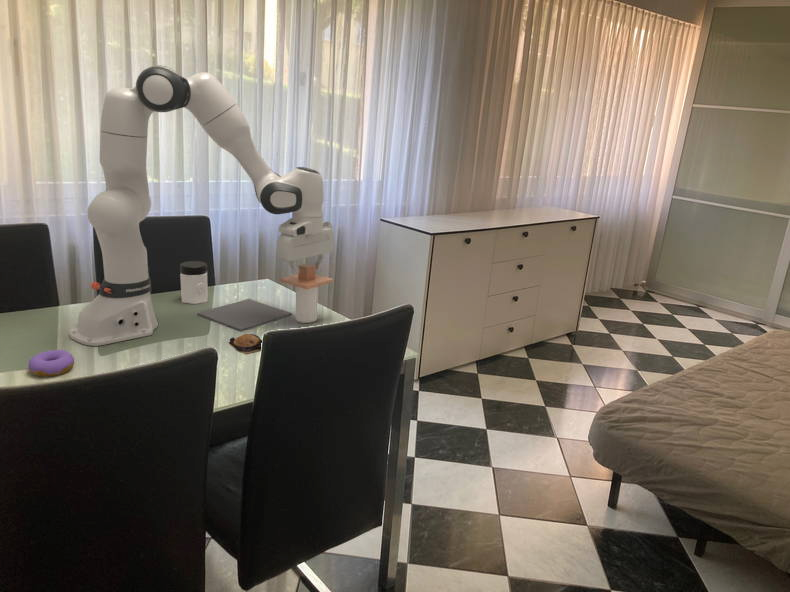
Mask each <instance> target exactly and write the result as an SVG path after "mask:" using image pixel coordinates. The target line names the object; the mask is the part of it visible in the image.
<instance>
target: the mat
mask: <svg viewBox="0 0 790 592" xmlns="http://www.w3.org/2000/svg"><path fill="white" fill-rule="evenodd" d="M196 314H197V316H200V317H202V318H205V319H207V320H209V321H213V322H215V323H218V324H220V325H222V326H225V327H228V328H230V329H233V330H236V331H238V332H244V331H248V330H250V329H254V328H256V327H261V326H263V325H265V324H270V323H272V322H276V321H278V320H283V319H284V318H288V317H290V316H293V313H292V312H289V311H287V310H284V309H281V308H278V307H275V306H272V305H269V304H266V303H264V302H261V301H257V300H255V299H252V298H251V299H250V298H247V299H243V300H239V301H237V302H233V303H228V304H225V305H222V306H217V307H213V308H211V309H206V310H203V311H200V312H197V313H196Z"/></svg>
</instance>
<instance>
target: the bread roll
mask: <svg viewBox="0 0 790 592" xmlns="http://www.w3.org/2000/svg"><path fill="white" fill-rule="evenodd" d="M261 343H262V338H261V337H260V336H259V335H256V334H253V333H245V334H241V335H239V336H237V337H236V338H235V337H233V336H231V337H230V338H229V341H228V344H229V345H230V346H231V347H232V348H234V349H235V350H236V351H238V352H240V353H243V354H244V355H250V354H254V353H258V352H262V351H261Z"/></svg>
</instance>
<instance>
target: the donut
mask: <svg viewBox="0 0 790 592" xmlns="http://www.w3.org/2000/svg"><path fill="white" fill-rule="evenodd" d="M74 364H75V358H74V356H73V354H71V353H70V352H69V351H67V350H63V349H53V350H47V351H46V350H45V351H42V352H40V353H39V352H38V353H37V354H35V355H33V357H31V358H30V359H29V361H28V365H27V366H28V369H29V371H30V372H31V373H32V374H33V375H35V376H38V377H56V376H59V375H62V374H65V373H67V372H69V371H70V370H71V369H72V368H73V367H74Z"/></svg>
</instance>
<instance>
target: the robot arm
mask: <svg viewBox="0 0 790 592" xmlns="http://www.w3.org/2000/svg"><path fill="white" fill-rule="evenodd" d="M183 108H184V109H186V110H188V111H189V112H190V113H191V114H192V115H193V116H194V118H195V119H196V120H197V122H198V123H199V125H200V126H201V128H202V129H203V130H204V131H205V133H206V134H207V135H208V136H209V138H211V139H212V141H214V142H215V144H216V145H218V147H220V148H221V149H223V150H225V151H227V152H228V153H229V154H230V155H232V156H233V157H234V158H235V159H236V160H237V161H238V163H239V164H240V166H241V167H242V169H243V170H244V172H245V173H246V174H247V176H248V177H249V178H250V180H251V182H252V184H253V189H254V192H255V196H256V198H257V200H258V202H259V203H260V204H261V206H262V207H263V209H264V210H265V211H266V212H268V213H270V214H272V215H285V214H289V213H291V218H288V219H287V220H285V222H283V223H282V224H280V225H278V230H277V231H278V233H280V234H279V236H278V238H277V250H276V251H277V258H278V259H279V260H280V261H283V262H285V263H286V262H287V263H288V265H289V267H290V269H291V274H292V275H296V274H299V268H298V267H297V265H296V264H297V263H298V260H301V259H306V258H311V257H315V256H316V257H317V259H316V261H315V262H314V263H313V265H315V270H319V269H322V268H323V262H324V260H325V258H326V254H329V253H332V252H333V251H334V249H335V237H334V236H335V235H334V231H333V225H332V224H331V222H329V221H325V222H324V212H323V203H324V193H325V192H324V180H323V179H324V178H323V176H322V174H321V173H320V172H319V171H318V170H316V169H312V168H309V167H304V166H303V167H302V166H298V167H295V168H294V169H293V170H291V171H290V172H287V173H286V174H284V175H279V174H278V173H276V171H275V172H274V171H273V170H272V169H271V167H270V166H269V165H268V163H267V162H266V161H265V159H264V158H263V156H262V154H260V152H259V151H258V149H257V147H256V145H255V144H254V141H253V138H252V134H251V129H250V128H251V127H250V126H249V125H250V124H249V123H248V121H247V119H246V116H245V114H244V112H243V111H242V109H241V107H240V106H239V105H238V103H237V101H236V100H235V99H234V97H233V96H232V95H231V93H230V92H229V91H228V90H227V88H226V87H225V86H224V85H223V84H222V83H221V82H220V81H219V80H218V79H217V78H216V77H215V76H214V75H213V74H211V73H210V72H205V71H204V72H202V71H201V72H197V73H195V74H193V75H190V76H189V77H183V76H182V75H180V74H178V73H177V71H175V70H174V69H172V68H171V67H168V66H166V65H162V64H161V65H158V64H157V65H153V66H149V67H147V68H145V69H144V70H142V71H141V72H140V73H139V75H138V77H137V79H136V82H135V86H134V87H116V88H112V89H111V90H109V91H108V92H106V94H105V96H104V101H103V104H102V109H101V118H100V128H99V129H100V131H99V164H100V165H101V167H102V170H103V171H102V172H103V174H104V181H105V190H104V191H102V192H100V193H98V194H96V196H95V197H94V198H93V199H92V200H91V202H90V203H89V205H88V208H87V211H86V212H87V213H86V214H87V219H88V221H89V224H90V225H91V226H92V227H93V228H94V230H95V234H96V236H97V240H98V243H99V246H100V250H101V254H102V263H103V264H102V265H103V266H102V267H103V275H104V278H103V280H102V282H101V283H99V282H97V281H93V282H91V283H90V287H91V289H92V290H95V291H99V293H98V295H97V296H96V297H94V298H93V300H91V301H90V302H89V303H88V304H87V305H86V306H85V307H83V308H82V309H81V311H80V312H79V313H78V317H77V327H74V328H71V329H69V332H68V333H69V337H70V338H71V339H72V340H73V341H74V342H78V344H83V345H86V346H93V347H99V346H104V345H109V344H115V343H118V342H123V341H124V342H125V341H128V340H133V339H138V338H139V339H140V338H144V337H148V336H151V335H153V334H154V331H155V329H157V328H158V326H159V322H158V321H157V318H156V315H155V314H156V313H155V312H154V307H153V303H152V297H151V295H152V282H151V277H150V275H149V265H148V251H147V247H146V246H145V244H144V242H143V238H142V235H141V232H140V231H141V230H140V223H141V222H143V221H144V220H145V219H146V218H147V216H148V215H149V212H150V211H151V207H152V199H151V196H150V190H149V182H148V172H147V155H148V154H147V153H148V135H149V134H148V133H149V131H148V130H149V129H148V128H149V122H150V117H151V115H152V114H153V113H155V112H156V113H168V112H172V111H176V110H179V109H183Z"/></svg>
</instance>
